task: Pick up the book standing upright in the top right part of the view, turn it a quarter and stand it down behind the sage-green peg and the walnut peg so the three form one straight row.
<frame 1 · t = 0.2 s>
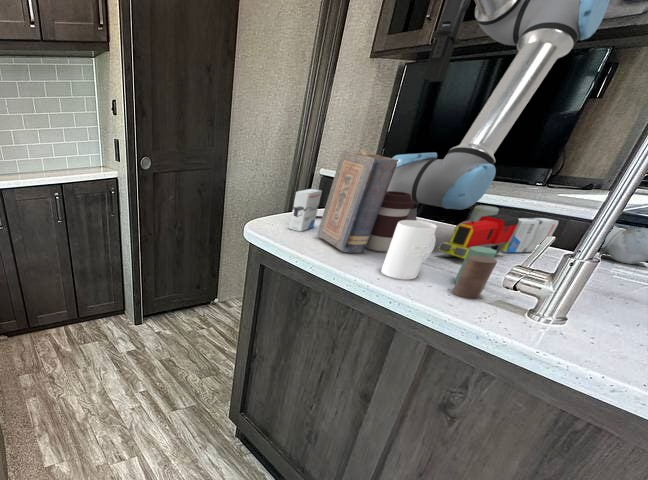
hand: (432, 80, 87), 39 cm above the table, tool pointing down, fingers open, 13 cm apart
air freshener: (470, 242, 121), on the table
coffee cup: (378, 249, 116), on the table
toy train: (469, 256, 110), on the table
sage peg: (466, 283, 94), on the table
ink box: (301, 228, 135), on the table
walnut peg: (465, 294, 88), on the table
figurine: (598, 238, 109), point 4 cm above the table
ink box 2: (506, 235, 111), point 4 cm above the table
book: (338, 245, 119), on the table
mug: (404, 273, 99), on the table
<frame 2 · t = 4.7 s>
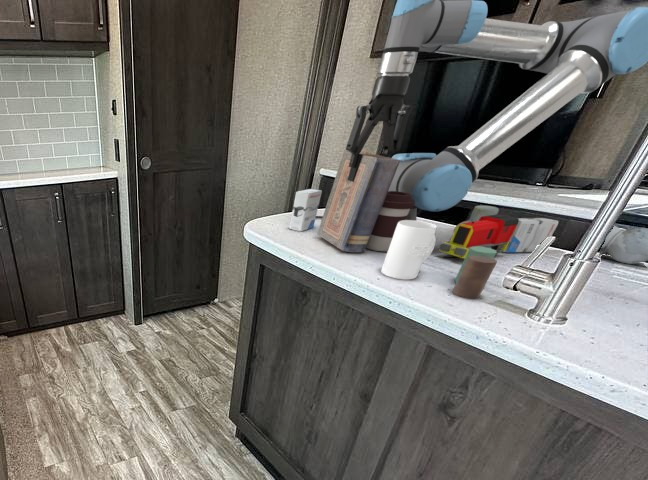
hand: (363, 180, 108), 18 cm above the table, tool pointing down, fingers closed on book, 7 cm apart
book: (338, 245, 119), on the table, touching gripper
everything else where it was.
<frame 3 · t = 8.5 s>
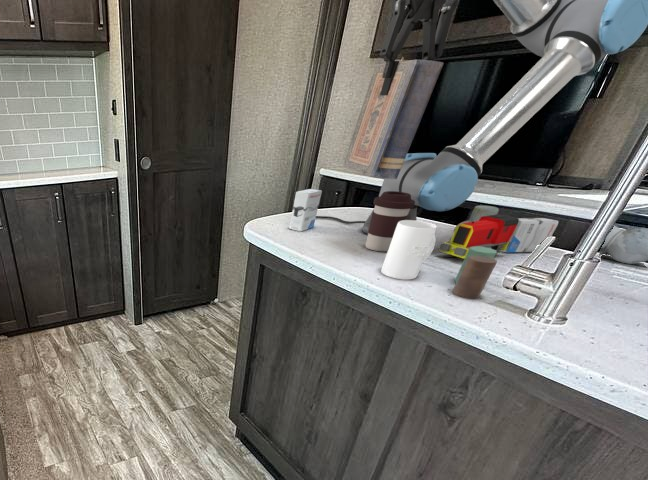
hand: (398, 95, 96), 37 cm above the table, tool pointing down, fingers closed on book, 7 cm apart
book: (367, 175, 106), point 19 cm above the table, touching gripper
everything else where it was.
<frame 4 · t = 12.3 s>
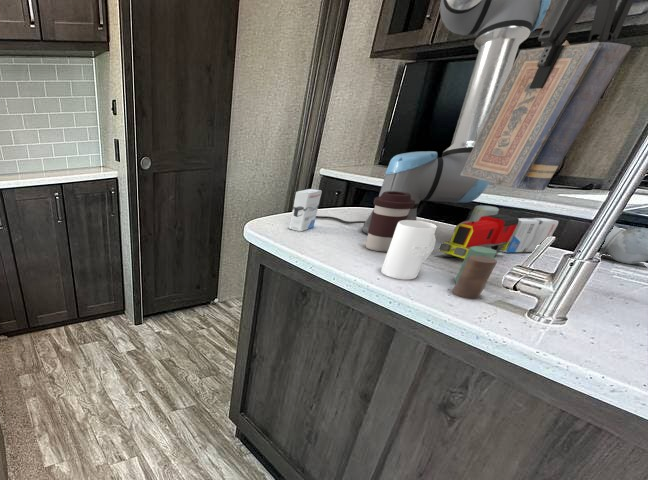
hand: (553, 88, 78), 38 cm above the table, tool pointing down, fingers closed on book, 7 cm apart
book: (497, 185, 89), point 20 cm above the table, touching gripper
everything else where it was.
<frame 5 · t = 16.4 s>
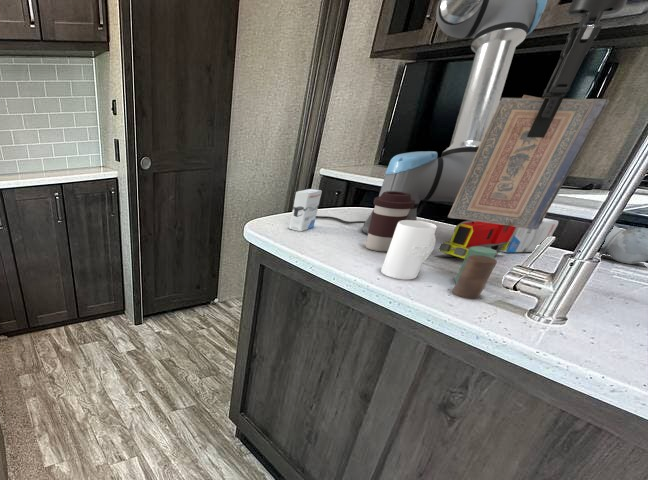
hand: (533, 135, 83), 30 cm above the table, tool pointing down, fingers closed on book, 7 cm apart
book: (489, 225, 92), point 12 cm above the table, touching gripper
everything else where it was.
when the fingers open (18 cm above the table, at t = 20.0 s): book stays where it is, on the table.
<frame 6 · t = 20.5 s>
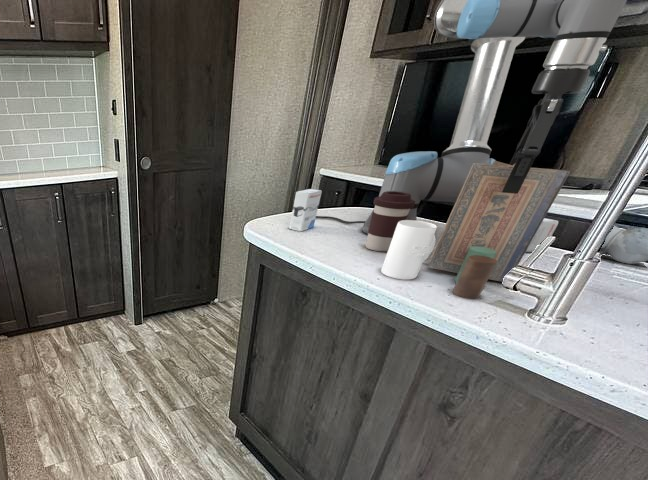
hand: (508, 188, 89), 20 cm above the table, tool pointing down, fingers open, 13 cm apart
book: (465, 274, 99), on the table
everything else where it was.
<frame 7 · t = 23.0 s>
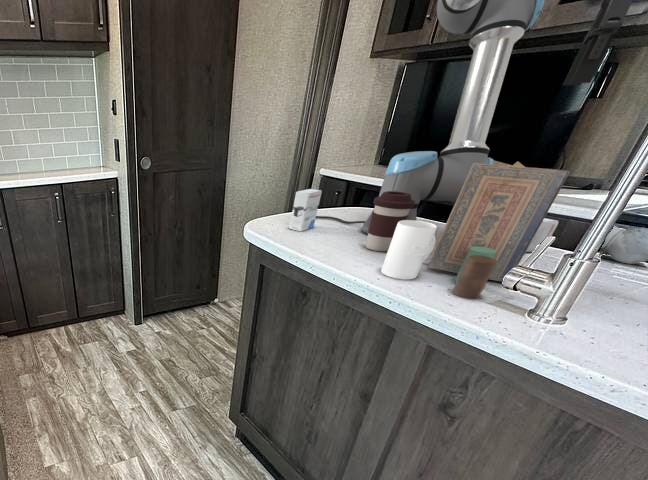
hand: (575, 84, 77), 38 cm above the table, tool pointing down, fingers open, 13 cm apart
nothing on the table moved.
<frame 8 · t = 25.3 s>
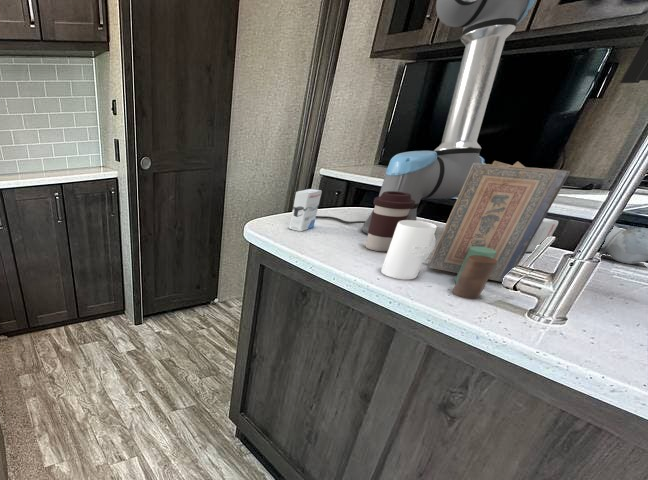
hand: (637, 82, 76), 39 cm above the table, tool pointing down, fingers open, 13 cm apart
nothing on the table moved.
at the end: book 1.2 cm from the target spot on the table beside the walnut peg, on the table; the gripper is holding nothing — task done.
